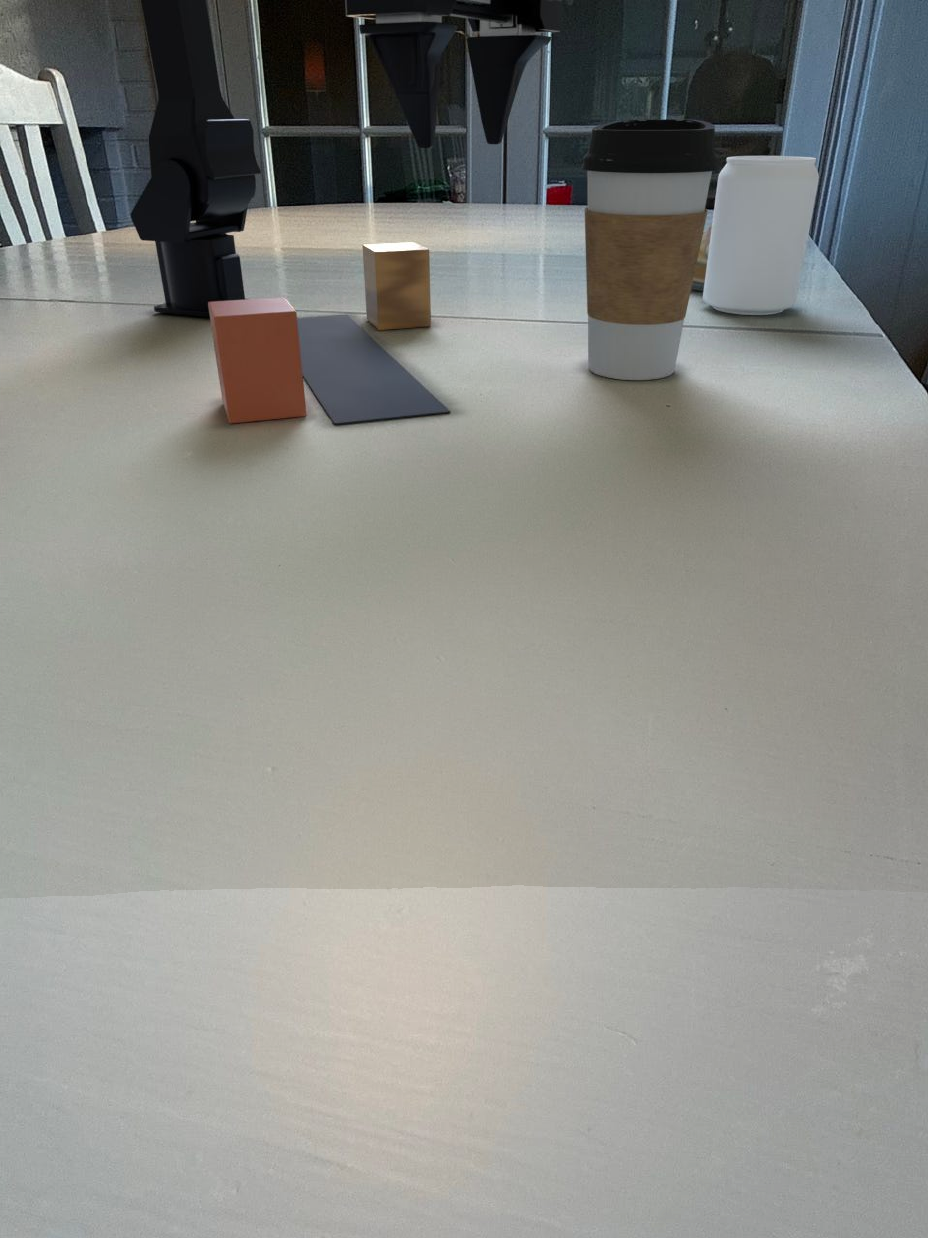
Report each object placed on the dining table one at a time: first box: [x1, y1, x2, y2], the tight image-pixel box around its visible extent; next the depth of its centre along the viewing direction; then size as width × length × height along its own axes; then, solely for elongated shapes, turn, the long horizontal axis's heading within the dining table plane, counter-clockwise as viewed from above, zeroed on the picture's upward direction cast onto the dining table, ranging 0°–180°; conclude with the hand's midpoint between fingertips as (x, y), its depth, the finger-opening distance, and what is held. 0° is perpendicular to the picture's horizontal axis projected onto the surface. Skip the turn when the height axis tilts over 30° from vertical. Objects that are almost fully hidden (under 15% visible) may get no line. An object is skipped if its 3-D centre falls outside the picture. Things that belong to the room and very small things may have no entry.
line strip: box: [297, 314, 451, 426], centre depth 63 cm, size 30×7×1 cm, turn 18°
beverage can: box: [702, 155, 820, 316], centre depth 75 cm, size 8×8×12 cm
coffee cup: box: [581, 118, 720, 381], centre depth 56 cm, size 8×8×15 cm
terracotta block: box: [208, 296, 307, 425], centre depth 51 cm, size 4×4×6 cm
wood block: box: [362, 241, 432, 331], centre depth 72 cm, size 4×4×6 cm
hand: (461, 145), depth 63 cm, fingers open, 9 cm apart
